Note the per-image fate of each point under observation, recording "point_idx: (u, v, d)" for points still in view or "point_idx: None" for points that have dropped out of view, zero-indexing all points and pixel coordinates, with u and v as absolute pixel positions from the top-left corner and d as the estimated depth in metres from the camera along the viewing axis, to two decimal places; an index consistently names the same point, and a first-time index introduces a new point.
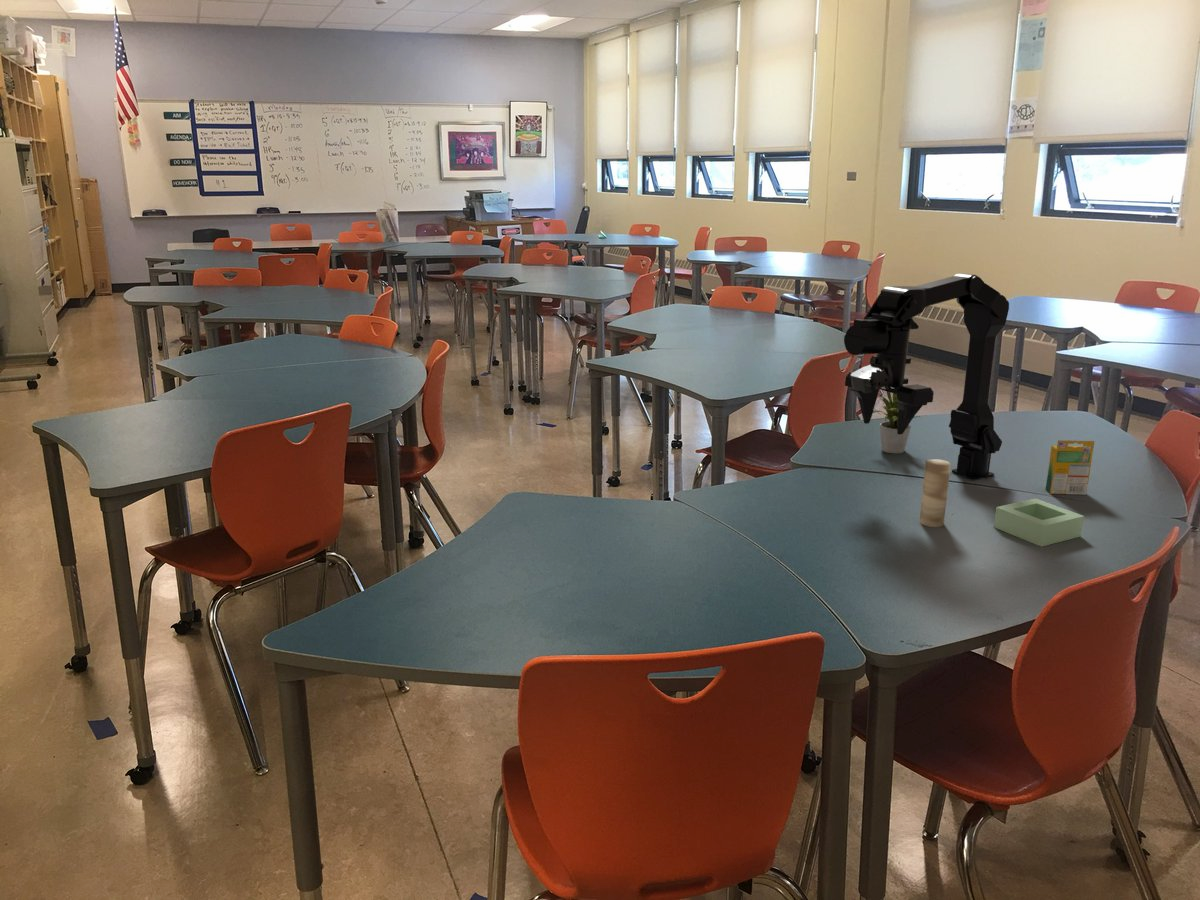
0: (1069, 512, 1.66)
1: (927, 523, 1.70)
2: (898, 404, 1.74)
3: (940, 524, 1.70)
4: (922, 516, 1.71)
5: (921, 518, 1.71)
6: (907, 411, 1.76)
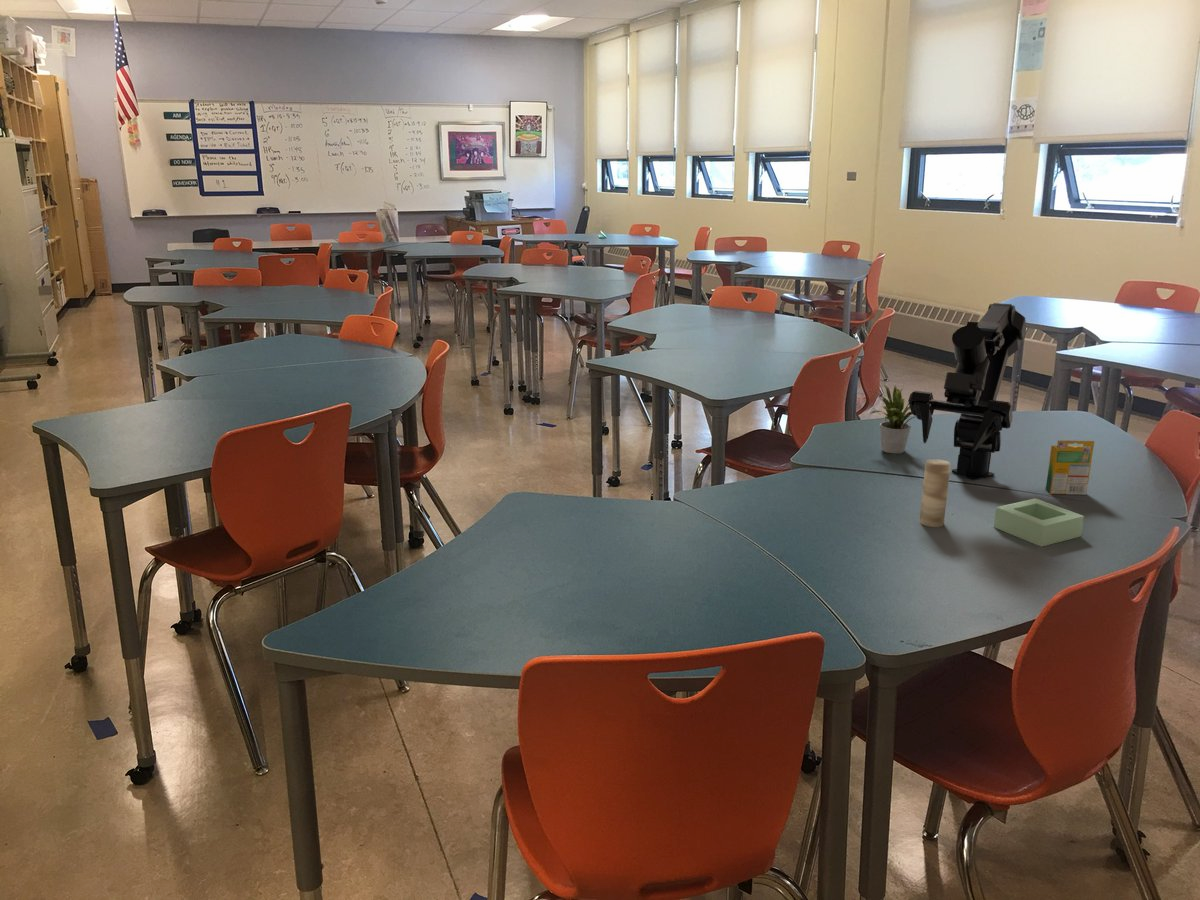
0: (1069, 512, 1.66)
1: (927, 523, 1.70)
2: (988, 413, 1.71)
3: (940, 524, 1.70)
4: (922, 516, 1.71)
5: (921, 518, 1.71)
6: (986, 428, 1.73)
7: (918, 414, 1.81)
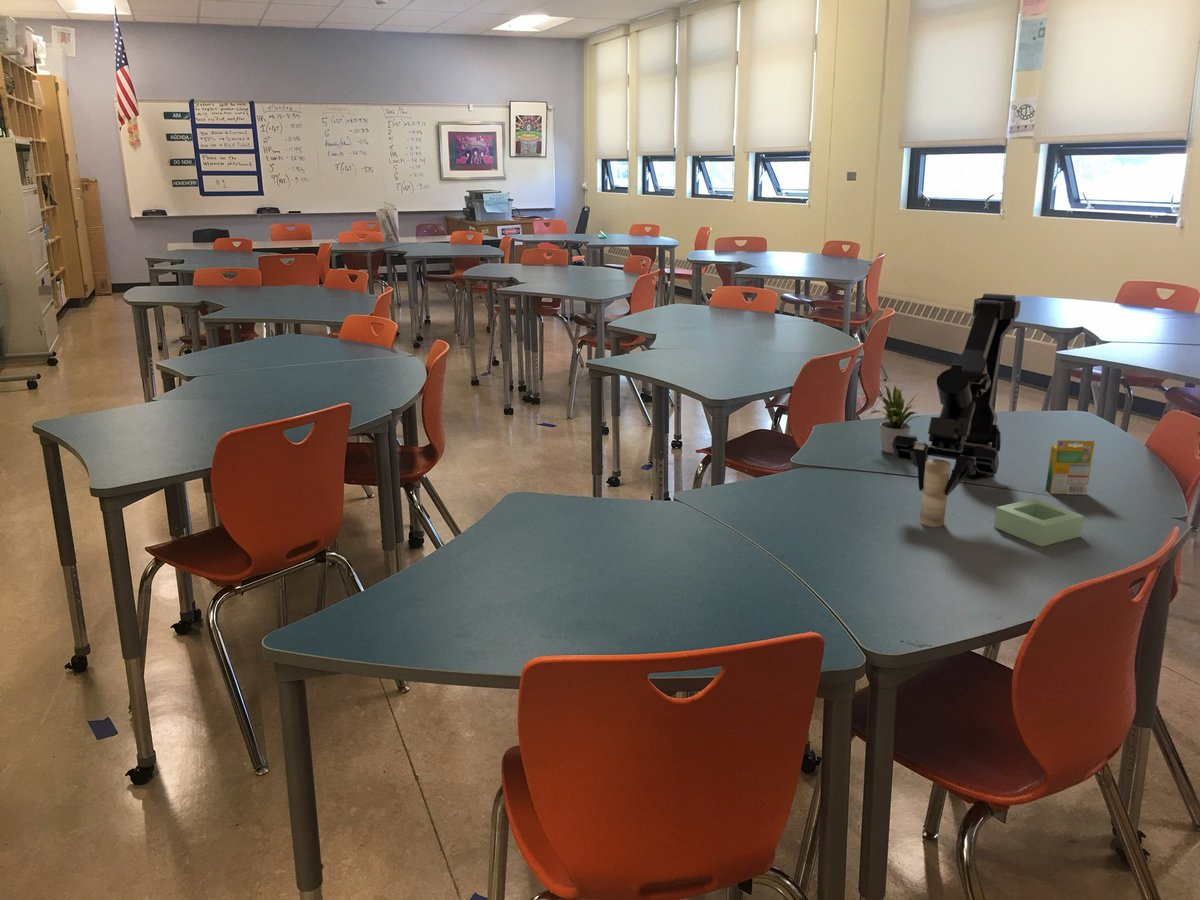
0: (1069, 512, 1.66)
1: (927, 523, 1.70)
2: (960, 458, 1.67)
3: (940, 524, 1.70)
4: (922, 516, 1.71)
5: (921, 518, 1.71)
6: None
7: (914, 460, 1.75)
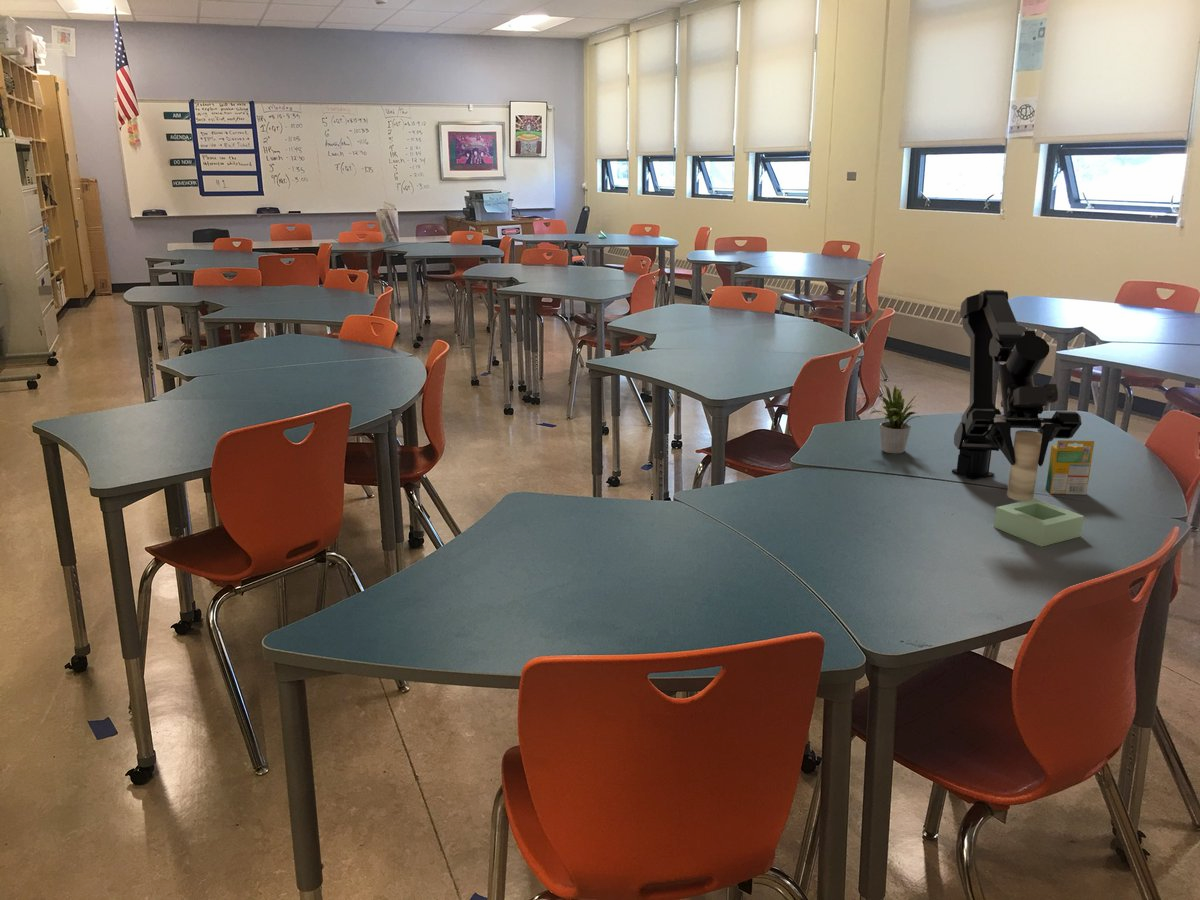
0: (1069, 512, 1.66)
1: (1022, 497, 1.63)
2: (1049, 426, 1.62)
3: (1033, 496, 1.64)
4: (1015, 490, 1.64)
5: (1014, 493, 1.64)
6: None
7: (991, 434, 1.67)
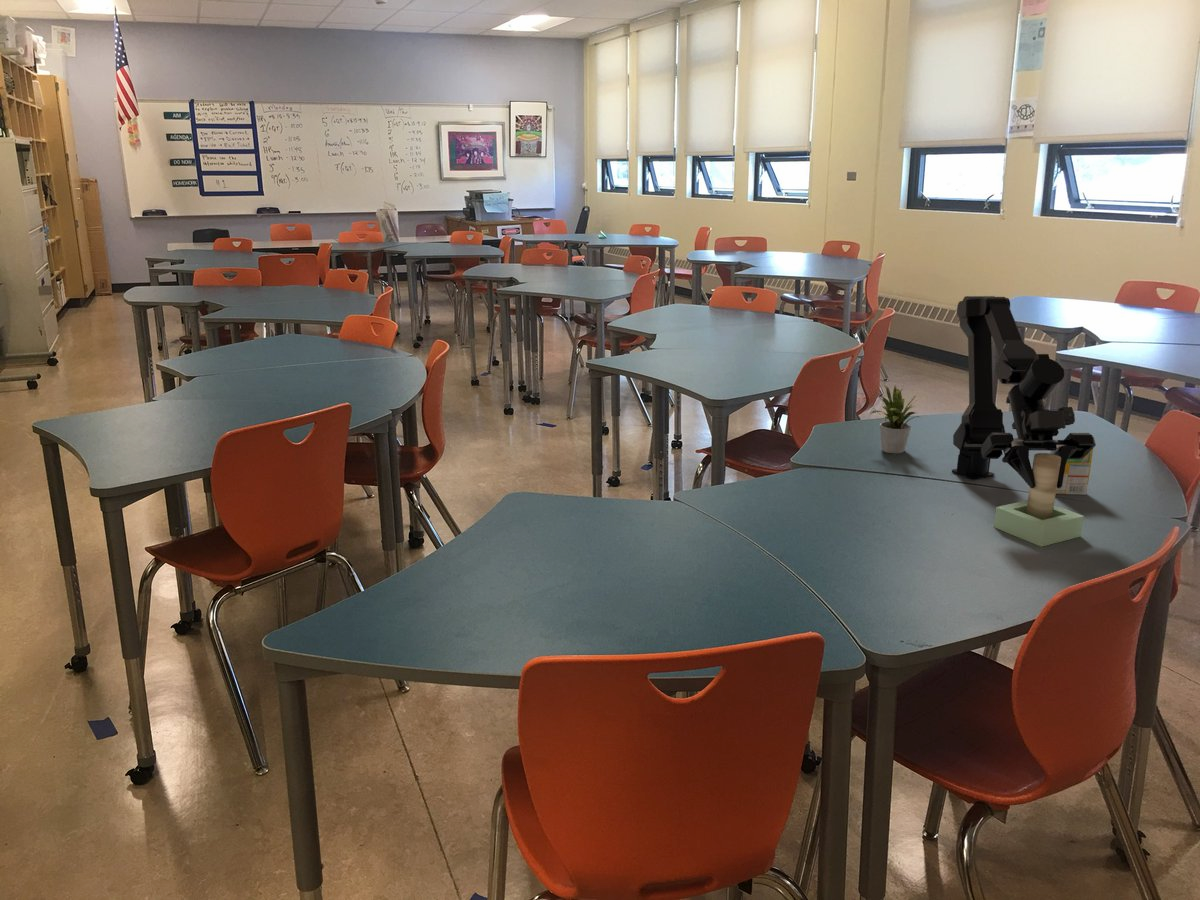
0: (1069, 512, 1.66)
1: None
2: (1065, 448, 1.64)
3: None
4: (1035, 513, 1.65)
5: (1034, 516, 1.65)
6: None
7: (1008, 457, 1.67)
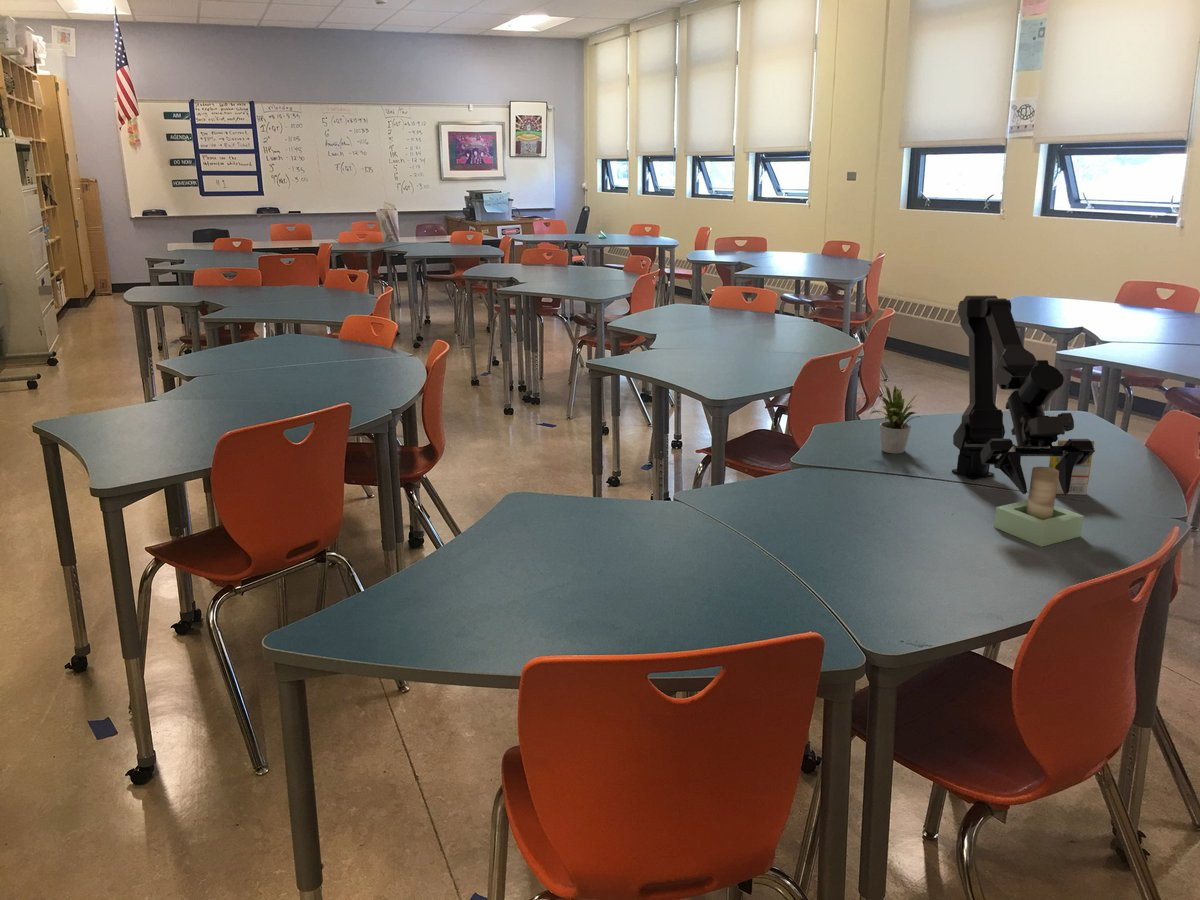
0: (1069, 512, 1.66)
1: None
2: (1072, 454, 1.64)
3: None
4: None
5: None
6: None
7: (1000, 463, 1.68)
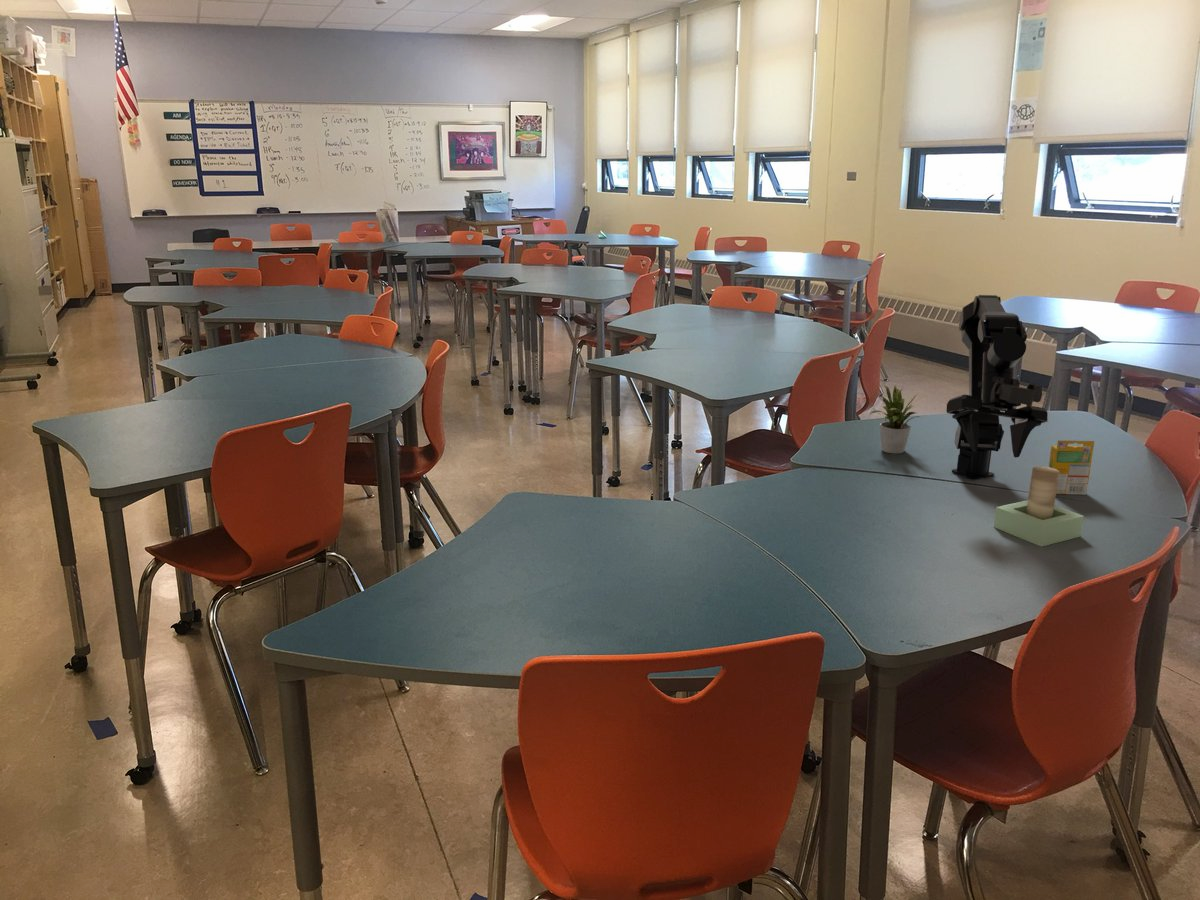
0: (1069, 512, 1.66)
1: None
2: (1032, 422, 1.74)
3: None
4: None
5: None
6: None
7: (959, 416, 1.75)
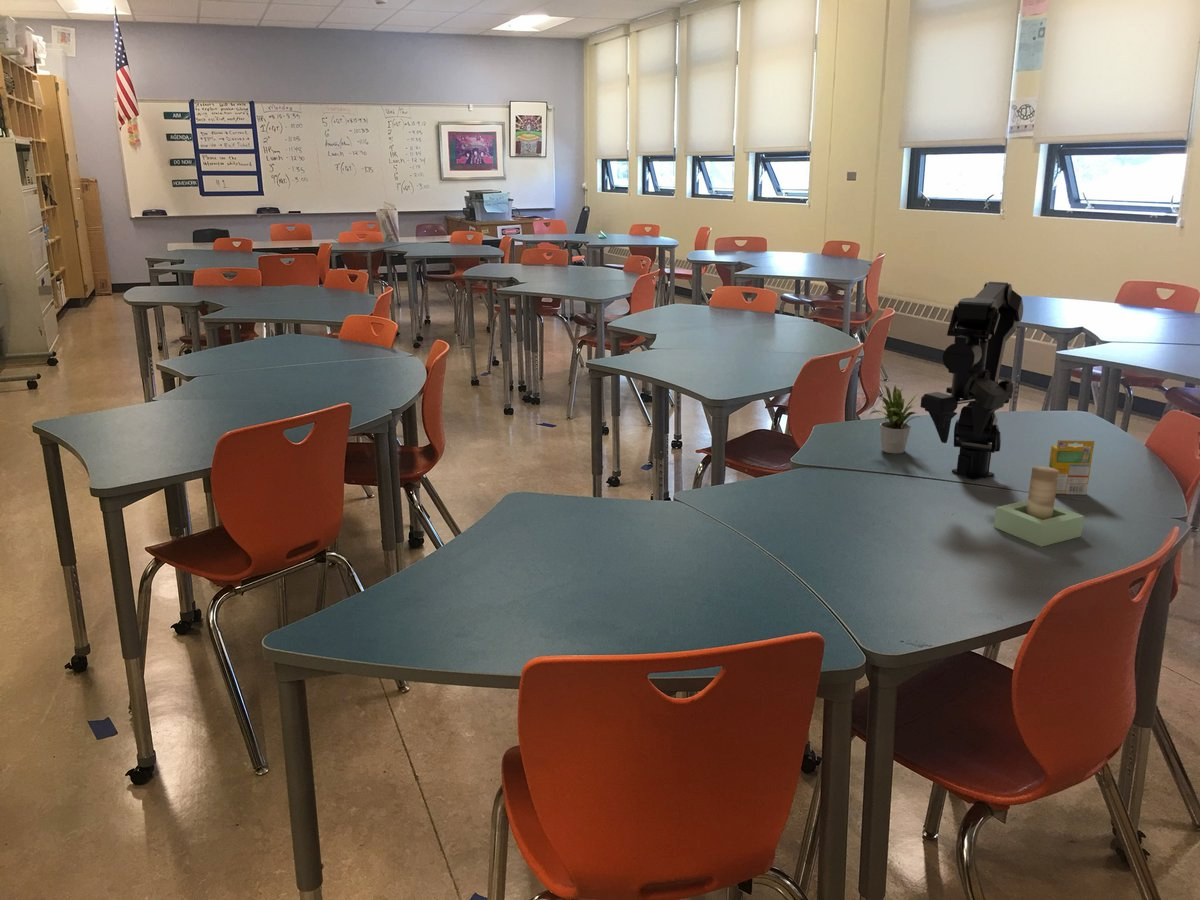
0: (1069, 512, 1.66)
1: None
2: (996, 407, 1.81)
3: None
4: None
5: None
6: None
7: None
